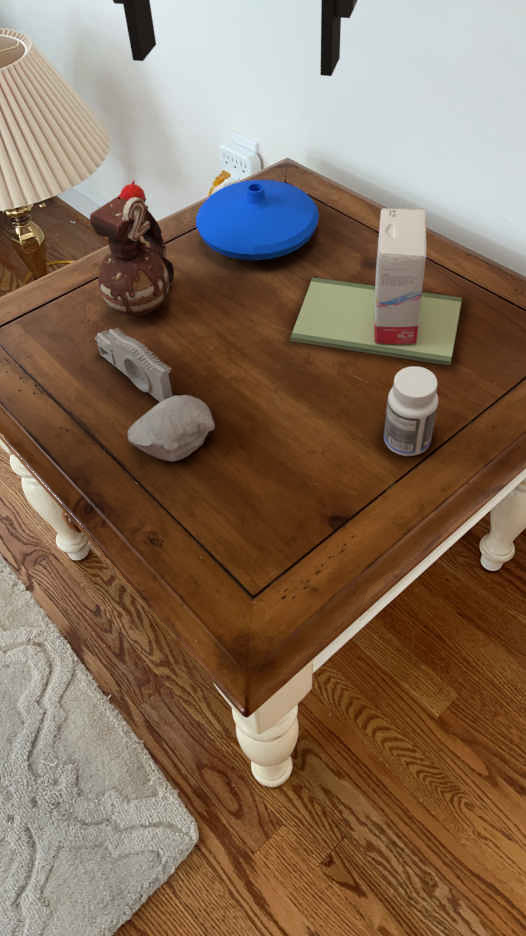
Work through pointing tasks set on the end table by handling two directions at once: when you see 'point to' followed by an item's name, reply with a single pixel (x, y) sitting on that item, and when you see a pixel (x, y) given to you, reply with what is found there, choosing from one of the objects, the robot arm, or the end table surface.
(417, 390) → the pill bottle
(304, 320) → the mat
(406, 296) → the ink box
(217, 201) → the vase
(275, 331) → the end table surface
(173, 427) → the grey stone
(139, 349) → the garden wall model
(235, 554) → the end table surface
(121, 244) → the grenade
